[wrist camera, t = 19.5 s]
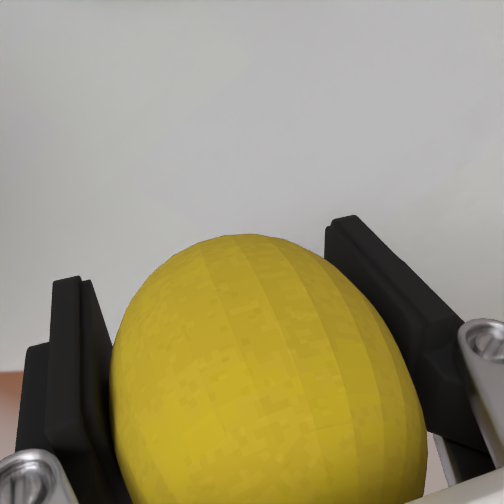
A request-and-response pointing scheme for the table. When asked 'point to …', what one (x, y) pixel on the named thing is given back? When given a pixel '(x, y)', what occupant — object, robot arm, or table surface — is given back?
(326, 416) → the lemon
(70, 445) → the robot arm
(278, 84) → the table surface
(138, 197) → the table surface
